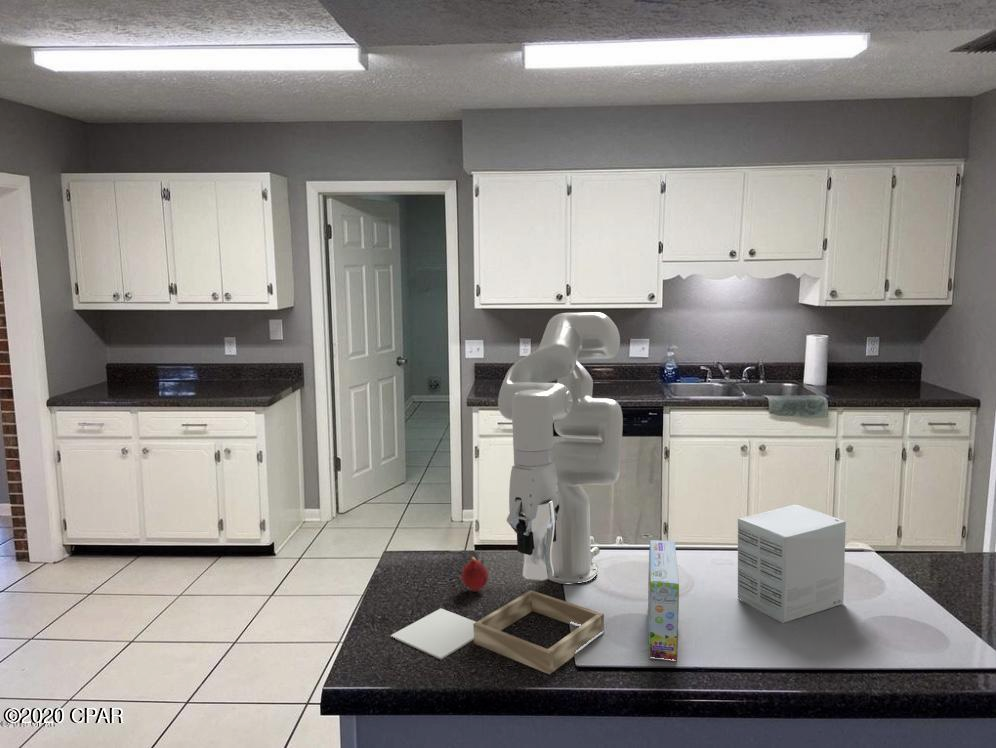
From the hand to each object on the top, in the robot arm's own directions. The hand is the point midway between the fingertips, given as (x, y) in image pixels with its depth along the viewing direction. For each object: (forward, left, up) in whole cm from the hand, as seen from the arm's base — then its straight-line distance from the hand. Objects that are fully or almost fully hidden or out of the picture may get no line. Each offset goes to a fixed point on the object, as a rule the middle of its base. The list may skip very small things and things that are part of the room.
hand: (537, 545), depth 136 cm
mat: (+10, -17, -19) cm, 27 cm away
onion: (-8, -24, -19) cm, 31 cm away
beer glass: (0, 0, -6) cm, 6 cm away
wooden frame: (0, 0, -19) cm, 19 cm away
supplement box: (-43, +33, -19) cm, 57 cm away
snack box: (-16, +18, -19) cm, 30 cm away
